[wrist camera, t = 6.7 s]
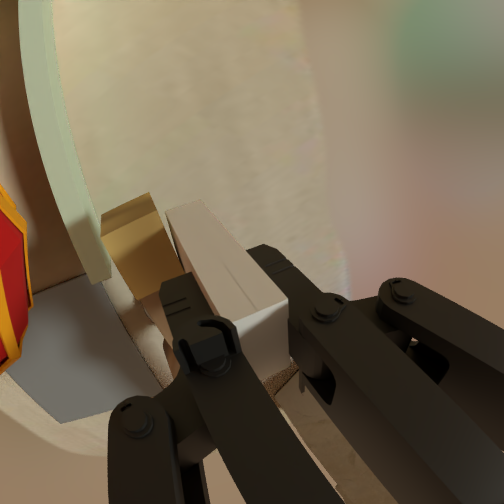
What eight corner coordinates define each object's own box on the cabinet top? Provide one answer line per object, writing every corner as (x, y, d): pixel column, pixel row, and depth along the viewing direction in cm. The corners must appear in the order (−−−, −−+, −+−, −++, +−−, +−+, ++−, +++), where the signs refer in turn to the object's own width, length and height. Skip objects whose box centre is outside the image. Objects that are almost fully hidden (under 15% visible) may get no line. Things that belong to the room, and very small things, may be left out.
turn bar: (232, 433, 24) (243, 453, 22) (83, 223, 11) (78, 249, 9) (270, 414, 25) (282, 433, 23) (168, 182, 12) (181, 200, 10)
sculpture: (296, 409, 38) (416, 558, 14) (257, 408, 33) (393, 590, 9) (367, 332, 36) (519, 480, 12) (339, 318, 31) (525, 504, 7)
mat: (-32, 322, 13) (-33, 323, 13) (95, 270, 17) (95, 271, 16) (60, 422, 21) (60, 423, 20) (164, 391, 24) (164, 392, 24)
